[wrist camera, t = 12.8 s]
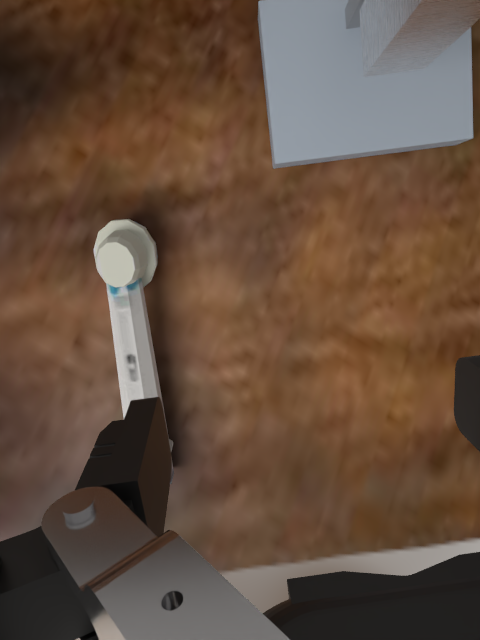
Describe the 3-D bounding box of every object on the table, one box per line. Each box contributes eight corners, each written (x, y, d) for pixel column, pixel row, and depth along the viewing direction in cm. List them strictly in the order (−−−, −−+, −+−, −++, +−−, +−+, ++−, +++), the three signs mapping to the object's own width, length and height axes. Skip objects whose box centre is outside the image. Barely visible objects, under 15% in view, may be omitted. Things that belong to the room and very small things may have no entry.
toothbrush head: (122, 495, 43) (71, 229, 34) (138, 452, 49) (98, 218, 41) (177, 493, 43) (139, 224, 34) (186, 450, 49) (155, 214, 41)
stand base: (273, 168, 40) (280, 150, 31) (257, 18, 38) (260, -50, 28) (456, 144, 39) (520, 119, 30) (452, -10, 37) (521, -90, 28)
